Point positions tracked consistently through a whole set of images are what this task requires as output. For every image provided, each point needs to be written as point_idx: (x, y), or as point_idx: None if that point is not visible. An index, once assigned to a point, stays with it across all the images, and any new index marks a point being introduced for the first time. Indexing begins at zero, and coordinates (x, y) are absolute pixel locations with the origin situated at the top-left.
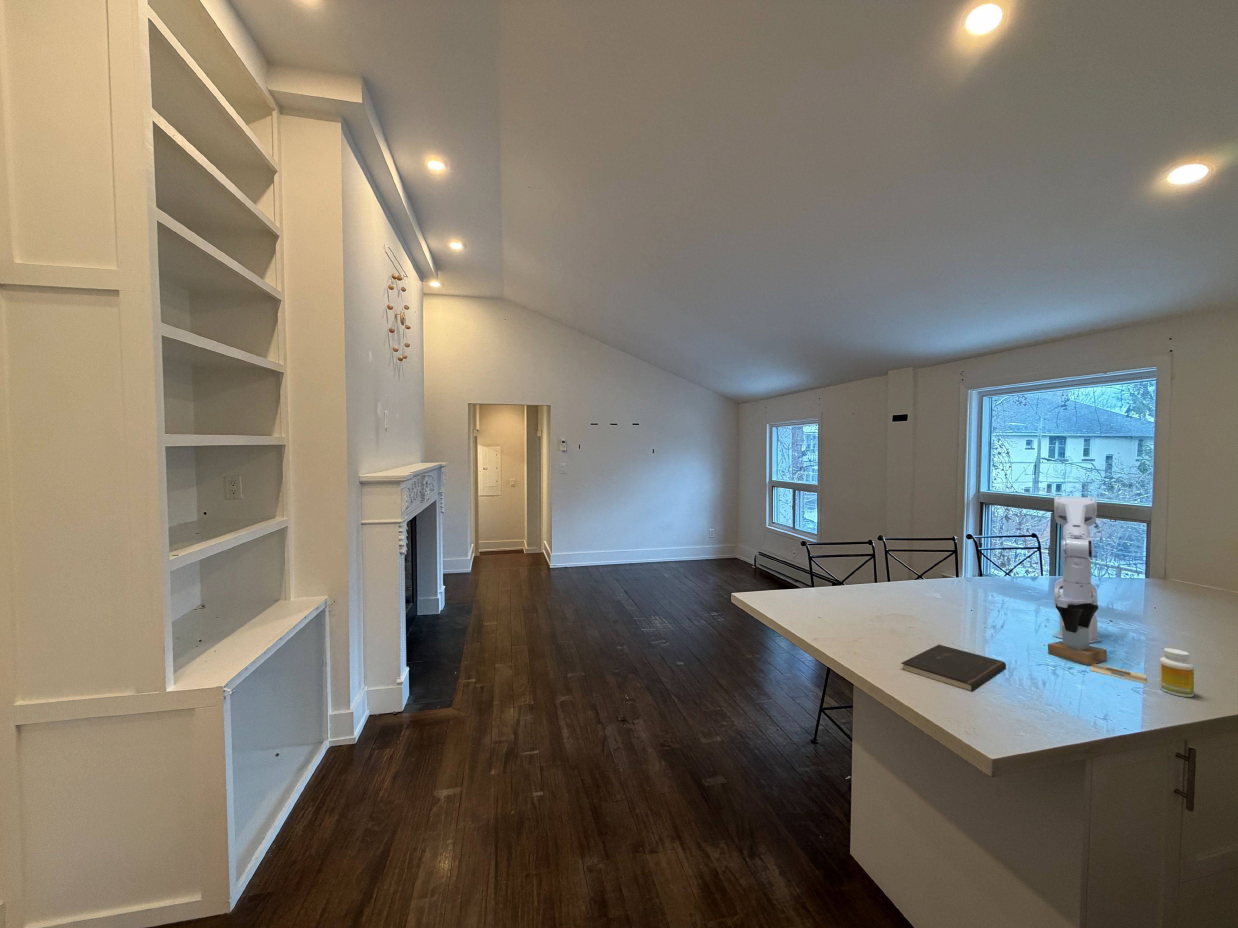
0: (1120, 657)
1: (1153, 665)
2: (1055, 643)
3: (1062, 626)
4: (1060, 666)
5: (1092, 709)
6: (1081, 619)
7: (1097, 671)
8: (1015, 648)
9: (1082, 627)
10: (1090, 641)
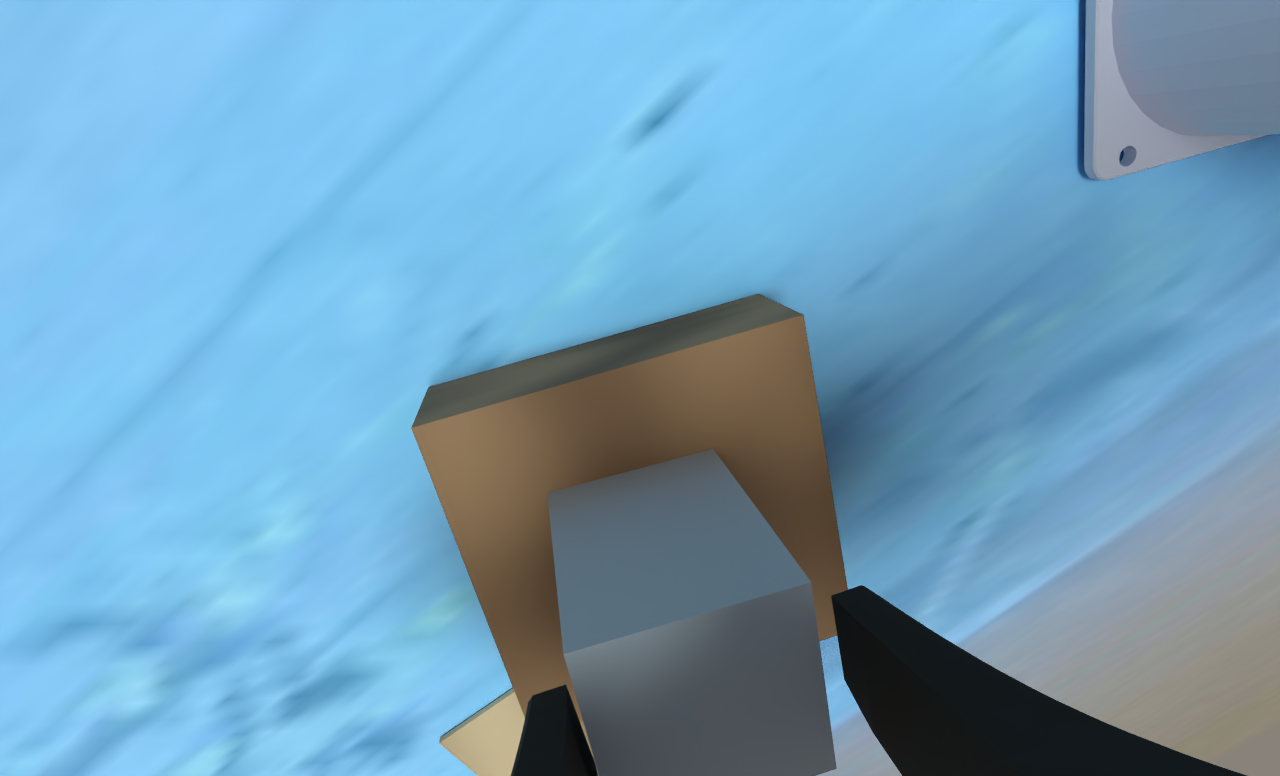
0: (1013, 488)
1: (1042, 627)
2: (528, 421)
3: (563, 649)
4: (259, 665)
5: None
6: (929, 755)
7: (480, 760)
8: (158, 179)
9: (788, 739)
10: (1216, 143)
